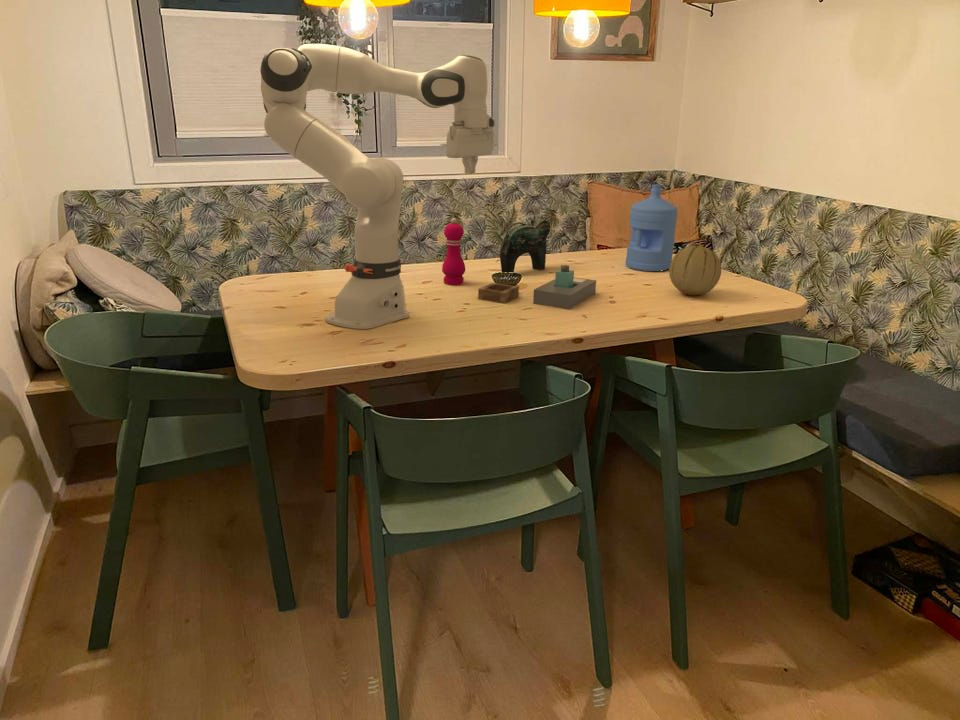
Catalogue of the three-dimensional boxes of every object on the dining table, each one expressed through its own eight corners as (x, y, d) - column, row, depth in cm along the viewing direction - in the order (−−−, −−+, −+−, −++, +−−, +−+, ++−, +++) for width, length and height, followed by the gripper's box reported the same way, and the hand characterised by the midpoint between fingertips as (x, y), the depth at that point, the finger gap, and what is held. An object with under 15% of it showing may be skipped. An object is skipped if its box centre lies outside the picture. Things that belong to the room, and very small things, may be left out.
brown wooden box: (504, 303, 193) (505, 293, 192) (478, 299, 197) (478, 288, 196) (518, 296, 200) (518, 286, 199) (492, 292, 204) (492, 282, 203)
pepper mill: (466, 280, 218) (467, 216, 211) (463, 286, 211) (464, 220, 204) (443, 279, 218) (443, 215, 211) (440, 285, 211) (440, 219, 204)
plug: (566, 300, 197) (568, 268, 194) (554, 298, 199) (555, 266, 196) (572, 297, 200) (574, 265, 197) (559, 295, 202) (561, 263, 199)
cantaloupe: (673, 300, 199) (679, 248, 194) (662, 287, 213) (667, 239, 208) (724, 301, 199) (732, 250, 194) (710, 288, 213) (716, 240, 208)
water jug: (646, 260, 250) (654, 181, 240) (680, 269, 238) (690, 186, 228) (615, 265, 242) (622, 183, 232) (649, 274, 230) (658, 188, 220)
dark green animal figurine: (539, 266, 239) (541, 207, 232) (552, 269, 234) (555, 209, 227) (496, 274, 227) (497, 212, 220) (509, 278, 222) (511, 215, 215)
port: (569, 309, 189) (570, 294, 187) (533, 303, 194) (533, 288, 192) (595, 293, 205) (596, 279, 204) (561, 288, 210) (561, 274, 209)
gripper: (460, 121, 177) (460, 177, 182) (498, 120, 193) (497, 171, 198) (440, 121, 180) (440, 175, 184) (478, 120, 196) (477, 170, 201)
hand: (469, 173), depth 191 cm, fingers closed
